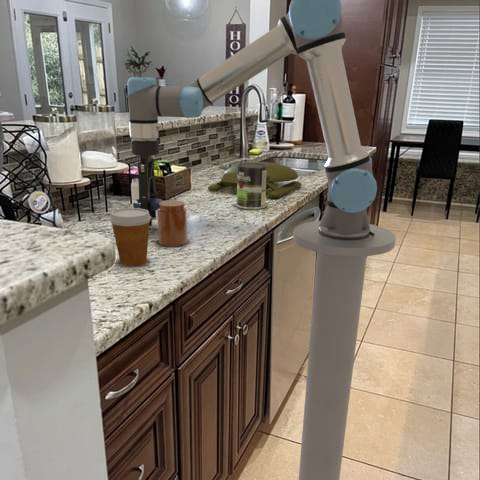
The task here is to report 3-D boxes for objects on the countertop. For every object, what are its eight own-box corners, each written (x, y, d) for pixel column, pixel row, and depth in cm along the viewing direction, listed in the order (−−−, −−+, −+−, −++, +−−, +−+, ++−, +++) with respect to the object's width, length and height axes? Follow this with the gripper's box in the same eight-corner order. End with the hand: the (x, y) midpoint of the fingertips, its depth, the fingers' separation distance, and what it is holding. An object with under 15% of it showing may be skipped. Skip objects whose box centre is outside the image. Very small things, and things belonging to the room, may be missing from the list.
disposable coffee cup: (106, 266, 117) (102, 216, 112) (122, 254, 126) (118, 206, 121) (146, 269, 116) (142, 218, 111) (158, 256, 124) (156, 208, 120)
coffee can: (250, 211, 170) (251, 168, 164) (230, 205, 177) (230, 164, 171) (271, 206, 176) (273, 165, 171) (252, 201, 183) (252, 162, 178)
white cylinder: (138, 221, 155) (136, 182, 150) (129, 217, 160) (127, 179, 155) (157, 218, 158) (155, 180, 154) (148, 214, 163) (146, 177, 158)
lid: (129, 206, 145) (129, 199, 144) (156, 203, 149) (156, 196, 148) (139, 212, 139) (139, 205, 138) (167, 209, 142) (167, 202, 142)
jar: (188, 238, 139) (187, 200, 135) (186, 246, 132) (185, 206, 128) (160, 238, 139) (158, 200, 135) (157, 246, 132) (155, 206, 128)
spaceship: (277, 199, 186) (278, 173, 182) (205, 191, 198) (204, 166, 195) (307, 184, 215) (309, 161, 211) (243, 178, 227) (243, 156, 224)
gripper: (153, 144, 127) (157, 231, 136) (163, 135, 146) (166, 212, 155) (123, 143, 127) (129, 230, 136) (137, 135, 146) (141, 212, 155)
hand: (149, 221), depth 145 cm, fingers closed on lid, 8 cm apart
